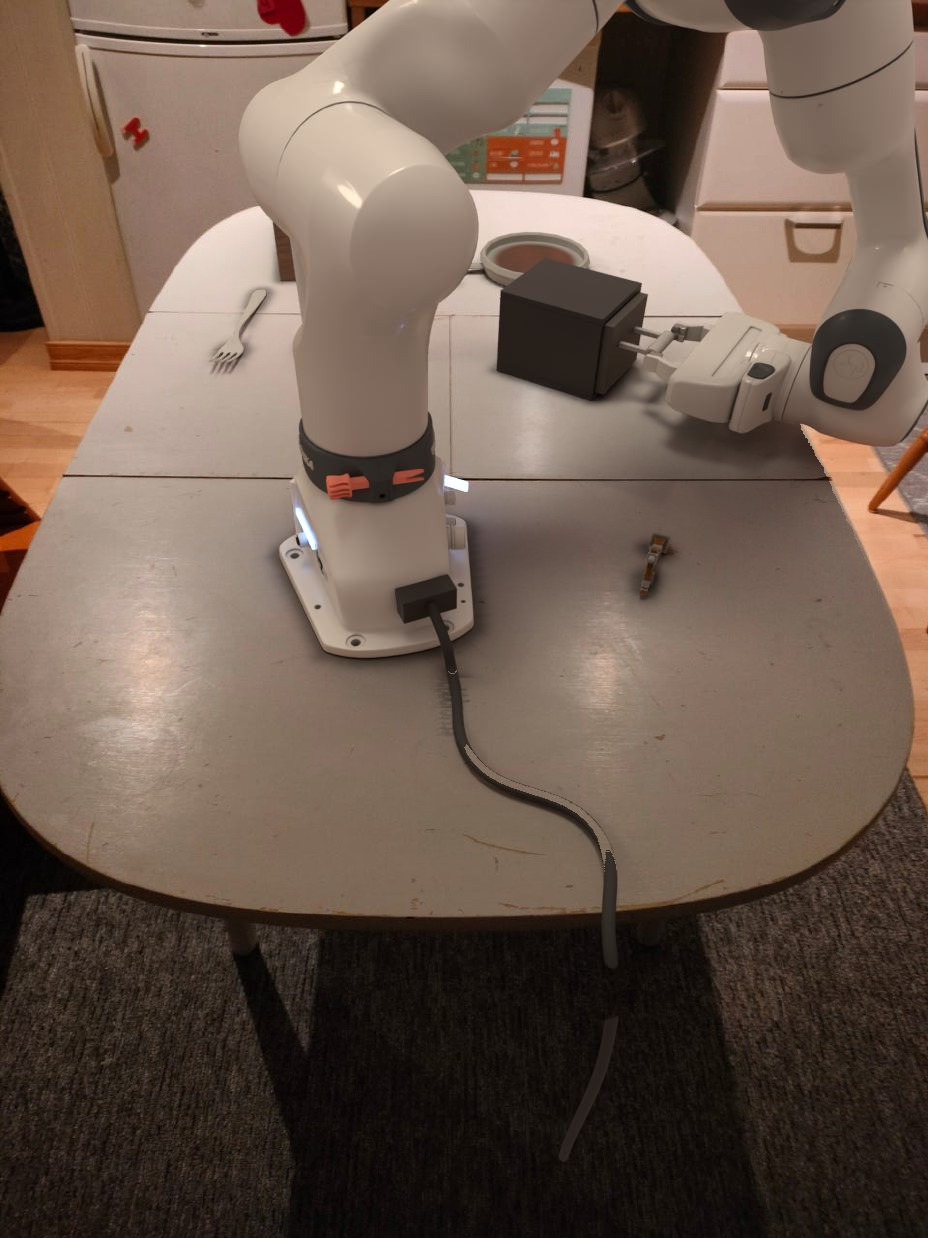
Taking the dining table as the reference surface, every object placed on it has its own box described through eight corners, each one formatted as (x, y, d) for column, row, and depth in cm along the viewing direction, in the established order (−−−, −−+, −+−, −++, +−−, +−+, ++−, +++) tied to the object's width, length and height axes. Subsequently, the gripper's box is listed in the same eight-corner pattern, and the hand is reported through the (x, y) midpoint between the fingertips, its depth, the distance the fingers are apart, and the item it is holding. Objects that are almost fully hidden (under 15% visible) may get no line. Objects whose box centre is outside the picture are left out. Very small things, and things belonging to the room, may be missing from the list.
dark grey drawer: (672, 370, 109) (686, 304, 102) (641, 406, 102) (654, 338, 96) (551, 334, 115) (557, 270, 108) (514, 366, 108) (518, 300, 102)
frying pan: (403, 236, 133) (576, 226, 136) (404, 255, 136) (575, 245, 138) (413, 283, 122) (603, 271, 124) (414, 302, 124) (601, 290, 126)
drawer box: (628, 361, 112) (642, 282, 104) (591, 400, 105) (603, 319, 97) (537, 334, 116) (544, 257, 109) (496, 370, 109) (500, 290, 102)
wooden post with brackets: (631, 594, 79) (643, 549, 77) (642, 571, 86) (653, 529, 84) (651, 599, 79) (663, 554, 77) (659, 576, 86) (671, 533, 84)
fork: (272, 290, 124) (271, 278, 123) (233, 374, 107) (230, 361, 106) (251, 289, 124) (249, 277, 123) (208, 373, 108) (205, 360, 106)
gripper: (805, 315, 101) (695, 286, 106) (752, 390, 88) (630, 354, 93) (789, 363, 105) (684, 334, 110) (737, 441, 93) (621, 404, 98)
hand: (659, 344), depth 102 cm, fingers open, 7 cm apart
